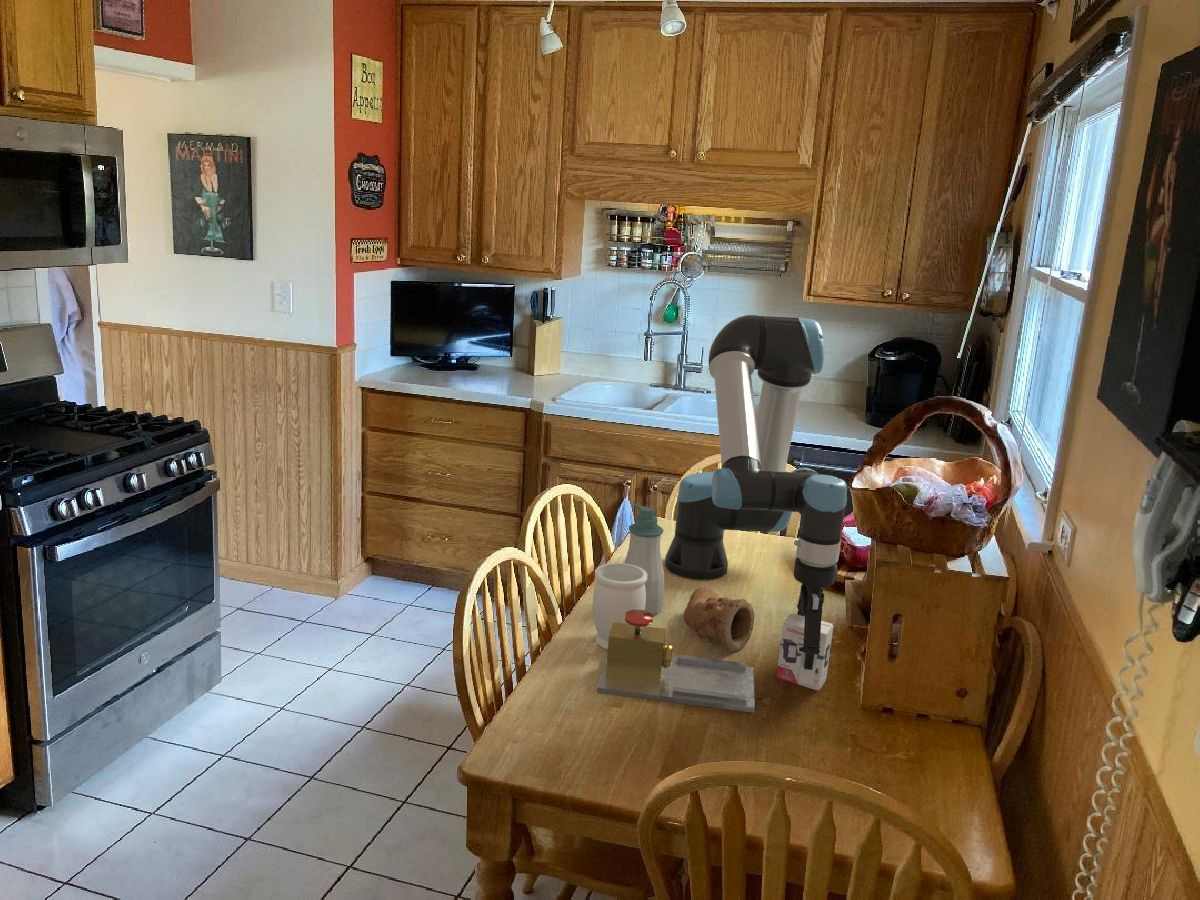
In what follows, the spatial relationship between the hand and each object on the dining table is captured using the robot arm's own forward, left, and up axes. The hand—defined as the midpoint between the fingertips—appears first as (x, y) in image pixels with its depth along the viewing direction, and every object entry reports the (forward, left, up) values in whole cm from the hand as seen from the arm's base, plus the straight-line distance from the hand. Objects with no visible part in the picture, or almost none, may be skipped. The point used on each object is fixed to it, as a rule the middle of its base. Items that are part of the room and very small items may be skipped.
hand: (802, 665), depth 177 cm
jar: (-6, -36, -3) cm, 37 cm away
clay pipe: (-15, -16, -3) cm, 22 cm away
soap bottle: (-23, -33, -3) cm, 40 cm away
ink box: (0, 0, -3) cm, 3 cm away
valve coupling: (+7, -23, -3) cm, 24 cm away
